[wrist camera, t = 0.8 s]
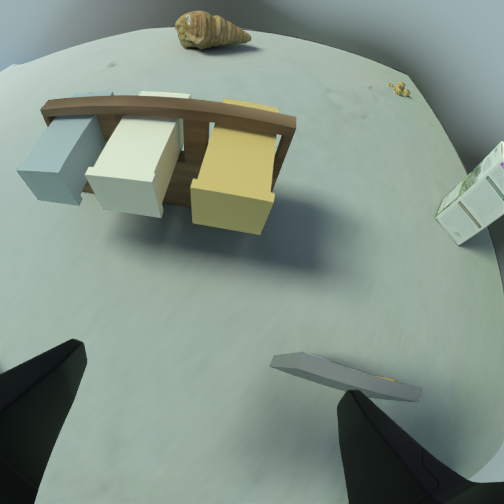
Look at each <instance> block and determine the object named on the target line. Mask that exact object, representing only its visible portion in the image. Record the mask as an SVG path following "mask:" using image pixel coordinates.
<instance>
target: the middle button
mask: <svg viewBox="0 0 504 504" xmlns="http://www.w3.org/2000/svg"><path fill="white" fill-rule="evenodd" d="M138 96H160V97H175V98H187V99H190V94H181V93H167V92H144V91H141V92H140V93H139V95H138ZM183 145H184V134H183V119H181V118H171V117H159V116H143V115H124V116H123V118H122V119H121V121H120V123H119V124H118V126H117V127H116V129H115V130H114V132H113V134H112V135H111V137H110V139H109V140H108V142H107V144H106V145H105V147H104V149H103V151H102V152H101V154H100V156H99V158H98V160H97V161H96V163H95V165H94V167H88V169H87V171H86V173H85V176H86V178H87V180H88V182H89V184H90V186H91V188H92V190H93V191H94V193H95V195H96V197H97V199H98V201H99V203H100V204H101V206H102V208H103V209H106V210H112V211H119V212H125V213H131V214H138V215H144V216H150V217H157V218H161V217H162V214H163V211H164V210H163V206H162V202H163V199H164V196H165V193H166V190H167V187H168V184H169V182H170V179H171V176H172V173H173V171H174V168H175V165H176V163H177V160H178V157H179V155H180V152H181V150H182V147H183Z"/></svg>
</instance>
